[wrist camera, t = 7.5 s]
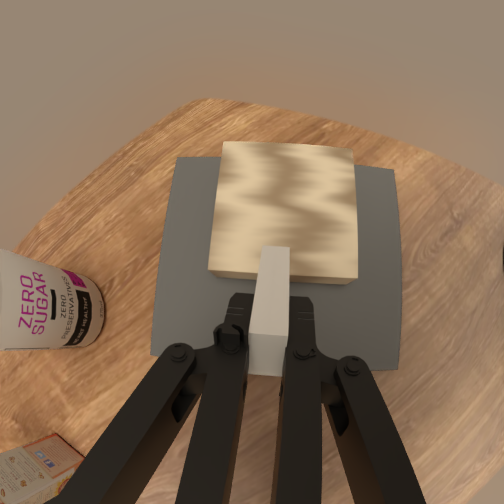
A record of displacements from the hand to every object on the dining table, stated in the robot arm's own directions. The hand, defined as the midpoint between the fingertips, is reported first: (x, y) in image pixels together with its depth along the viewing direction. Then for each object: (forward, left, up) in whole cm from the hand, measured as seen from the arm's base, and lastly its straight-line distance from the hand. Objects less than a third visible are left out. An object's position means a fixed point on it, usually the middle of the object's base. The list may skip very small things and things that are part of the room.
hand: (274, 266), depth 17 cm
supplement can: (+21, +5, -12) cm, 25 cm away
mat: (-1, -3, -12) cm, 12 cm away
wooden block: (-1, -1, -8) cm, 8 cm away
